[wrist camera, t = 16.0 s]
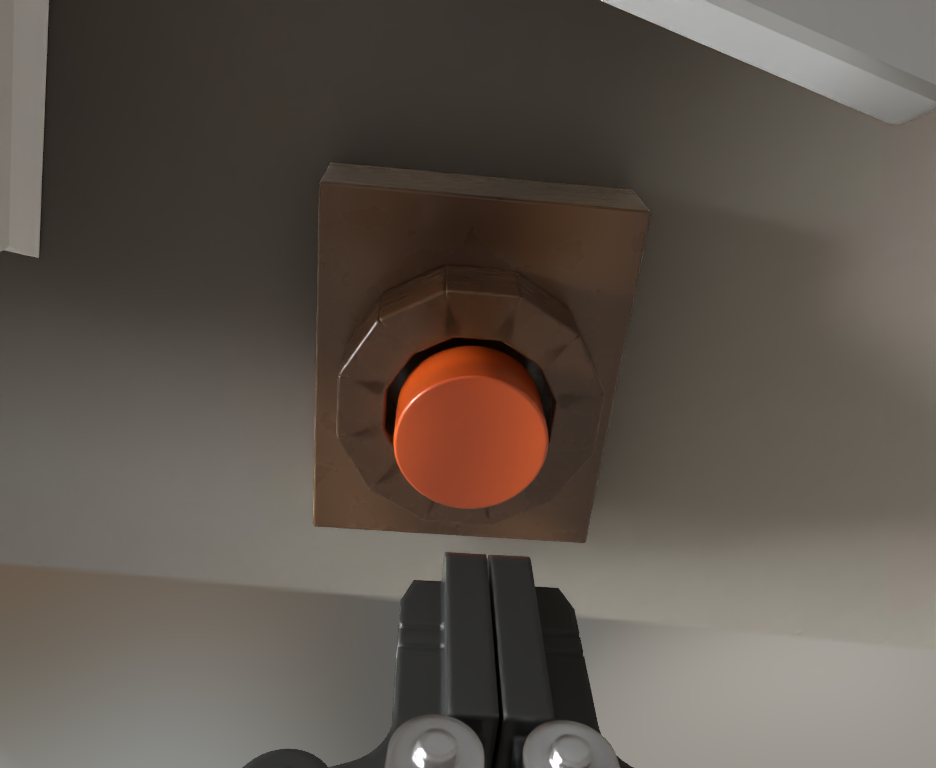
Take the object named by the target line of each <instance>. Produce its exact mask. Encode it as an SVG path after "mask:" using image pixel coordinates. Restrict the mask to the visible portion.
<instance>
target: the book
mask: <svg viewBox="0 0 936 768" xmlns="http://www.w3.org/2000/svg"><path fill="white" fill-rule="evenodd" d="M48 13H49V0H0V252H1V251H2V250H6V251H10V252H15V253H19V254H23V255H28V256H32V257H37V258H39V240H40V215H41V190H42V164H43V139H44V114H45V89H46V63H47V38H48Z"/></svg>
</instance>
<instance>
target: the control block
mask: <svg viewBox="0 0 936 768" xmlns="http://www.w3.org/2000/svg"><path fill="white" fill-rule="evenodd" d="M650 216H651V212H650V211H649V209H648V208H647V207H646V206H645V204H644V203H643V202H642V201H641V200H640V198H639V197H638V196H637V195H636V193H635V192H634V191H633V190H630V189H619V188H608V187H597V186H586V185H575V184H564V183H553V182H542V181H531V180H520V179H509V178H498V177H487V176H476V175H465V174H454V173H443V172H432V171H422V170H411V169H400V168H389V167H378V166H367V165H356V164H345V163H334V162H332V163H330V165H329V167H328V168H327V170H326V172H325V174H324V176H323V178H322V180H321V181H320V184H319V221H318V278H317V334H316V390H315V446H314V502H313V524H314V526H318V527H334V528H350V529H366V530H382V531H398V532H415V533H431V534H447V535H463V536H479V537H495V538H512V539H528V540H544V541H560V542H576V543H585V542H586V539H587V534H588V529H589V524H590V519H591V514H592V509H593V504H594V499H595V493H596V488H597V483H598V478H599V473H600V468H601V463H602V458H603V453H604V448H605V443H606V438H607V433H608V428H609V423H610V418H611V413H612V408H613V403H614V398H615V393H616V387H617V382H618V377H619V372H620V367H621V362H622V357H623V352H624V347H625V342H626V337H627V332H628V327H629V322H630V317H631V312H632V307H633V302H634V297H635V292H636V286H637V281H638V276H639V271H640V266H641V261H642V256H643V251H644V246H645V241H646V236H647V231H648V226H649V221H650ZM466 345H470V346H483V347H488V348H492V349H496V350H498V351H501V352H503V353H505V354H507V355H509V356H511V357H512V358H514V359H515V360H516V361H518V362H519V363H520V364H521V365H522V366H523V367H524V368H526V369H527V371H528V372H529V373H530V375H531V376H532V378H533V379H534V381H535V383H536V385H537V388H538V390H539V393H540V398H541V402H542V407H543V411H544V416H545V420H546V425H547V429H548V438H549V443H548V451H547V455H546V459H545V461H544V464H543V466H542V468H541V470H540V472H539V473H538V475H537V476H536V478H535V479H534V480H533V481H532V483H531V484H530V485H529V486H528V487H527V488H526V489H524V490H523V491H522V492H520V493H519V494H518V495H516V496H514V497H513V498H511V499H509V500H507V501H505V502H503V503H500V504H497V505H494V506H490V507H485V508H476V509H463V508H454V507H450V506H446V505H443V504H440V503H437V502H435V501H433V500H431V499H429V498H427V497H426V496H424V495H422V494H421V493H420V492H418V491H417V490H416V489H415V488H414V487H413V486H412V485H411V484H410V483H409V482H408V481H407V480H406V478H405V477H404V475H403V474H402V472H401V470H400V468H399V466H398V464H397V461H396V458H395V453H394V429H395V419H396V409H397V401H398V396H399V393H400V390H401V387H402V385H403V383H404V381H405V380H406V378H407V377H408V375H409V374H410V373H411V372H412V370H413V369H414V368H415V367H416V366H417V365H418V364H420V363H421V362H422V361H423V360H425V359H426V358H428V357H429V356H431V355H433V354H435V353H437V352H439V351H442V350H445V349H448V348H452V347H457V346H466Z"/></svg>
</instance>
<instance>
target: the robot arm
mask: <svg viewBox="0 0 936 768" xmlns="http://www.w3.org/2000/svg"><path fill="white" fill-rule="evenodd" d="M243 768H633V767H631V766H629V765H628V764H627V763H625V762H624V761H622V760H621V759H620V758H619V757H618V756H616V754H615V752H614V750H613V748H612V746H611V745H610V743H609V742H608V741H607V740H606V739H605V738H604V737H603V736H602V735H601V733H600V730H599V726H598V722H597V717H596V713H595V708H594V703H593V698H592V693H591V688H590V683H589V678H588V674H587V669H586V664H585V659H584V657H583V649H582V644H581V640H580V637H579V630H578V625H577V620H576V615H575V610H574V608H573V607H572V606H571V604H570V603H569V602H568V600H567V599H566V598H565V596H564V595H563V594H562V592H561V591H560V590H559V588H550V587H535V584H534V578H533V571H532V564H531V560H530V557H523V556H506V555H488V558H487V557H486V555H485V554H469V553H452V552H445V555H444V563H443V572H442V581H423V580H414V581H413V582H412V584H411V585H410V587H409V588H408V590H407V591H406V593H405V594H404V596H403V597H402V599H401V602H400V615H399V629H398V641H397V653H396V666H395V683H394V698H393V714H392V727H391V729H390V732H389V734H388V735H387V737H386V738H385V740H384V741H383V742H382V743H381V744H380V745H379V746H378V747H377V748H376V749H375V750H374V751H372V752H371V753H369V754H368V755H366V756H364V757H362V758H360V759H357V760H354V761H351V762H348V763H344V764H340V765H336V766H332V767H327V765H326V764H325V763H323V761H322V760H321V759H319V758H318V757H316V756H315V755H313V754H310V753H308V752H305V751H302V750H297V749H280V750H275V751H270V752H267V753H265V754H262V755H260V756H258V757H257V758H255V759H253V760H252V761H250V762H249V763H248V764H246V765H245V766H244V767H243Z"/></svg>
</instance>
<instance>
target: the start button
mask: <svg viewBox="0 0 936 768" xmlns="http://www.w3.org/2000/svg"><path fill="white" fill-rule="evenodd" d="M548 443H549V438H548V429H547V425H546V420H545V416H544V411H543V407H542V402H541V398H540V393H539V390H538V388H537V385H536V383H535V381H534V379H533V378H532V376H531V375H530V373H529V372H528V371H527V369H526V368H524V367H523V366H522V365H521V364H520V363H519V362H518V361H516V360H515V359H514V358H512V357H511V356H509V355H507V354H505V353H503V352H501V351H498V350H496V349H492V348H488V347H483V346H470V345H466V346H457V347H452V348H448V349H445V350H442V351H439V352H437V353H435V354H433V355H431V356H429V357H428V358H426V359H425V360H423V361H422V362H421V363H420V364H418V365H417V366H416V367H415V368H414V369H413V370H412V372H411V373H410V374H409V375H408V377H407V378H406V380H405V381H404V383H403V385H402V387H401V390H400V393H399V396H398V401H397V409H396V419H395V429H394V453H395V458H396V461H397V464H398V466H399V468H400V470H401V472H402V474H403V475H404V477H405V478H406V480H407V481H408V482H409V483H410V484H411V485H412V486H413V487H414V488H415V489H416V490H417V491H418V492H420V493H421V494H422V495H424V496H426V497H427V498H429V499H431V500H433V501H435V502H437V503H440V504H443V505H446V506H450V507H454V508H463V509H476V508H485V507H490V506H494V505H497V504H500V503H503V502H505V501H507V500H509V499H511V498H513V497H514V496H516V495H518V494H519V493H520V492H522V491H523V490H524V489H526V488H527V487H528V486H529V485H530V484H531V483H532V481H533V480H534V479H535V478H536V476H537V475H538V473H539V472H540V470H541V468H542V466H543V464H544V461H545V459H546V455H547V451H548Z"/></svg>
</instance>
